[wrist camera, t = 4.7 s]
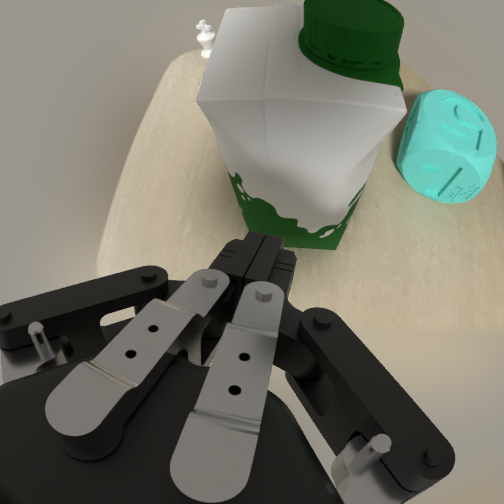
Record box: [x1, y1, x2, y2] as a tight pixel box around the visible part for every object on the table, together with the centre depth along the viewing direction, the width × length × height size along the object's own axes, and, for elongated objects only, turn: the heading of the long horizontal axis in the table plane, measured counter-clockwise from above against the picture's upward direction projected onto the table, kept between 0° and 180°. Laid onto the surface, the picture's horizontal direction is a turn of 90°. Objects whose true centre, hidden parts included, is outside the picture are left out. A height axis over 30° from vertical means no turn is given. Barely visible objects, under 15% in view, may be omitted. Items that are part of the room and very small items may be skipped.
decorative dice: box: [396, 90, 497, 203], centre depth 24 cm, size 8×8×8 cm
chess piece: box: [196, 20, 216, 88], centre depth 29 cm, size 5×5×10 cm
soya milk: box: [196, 0, 407, 250], centre depth 18 cm, size 9×9×20 cm
